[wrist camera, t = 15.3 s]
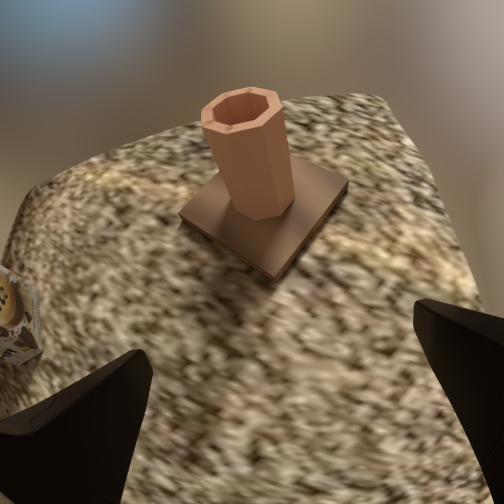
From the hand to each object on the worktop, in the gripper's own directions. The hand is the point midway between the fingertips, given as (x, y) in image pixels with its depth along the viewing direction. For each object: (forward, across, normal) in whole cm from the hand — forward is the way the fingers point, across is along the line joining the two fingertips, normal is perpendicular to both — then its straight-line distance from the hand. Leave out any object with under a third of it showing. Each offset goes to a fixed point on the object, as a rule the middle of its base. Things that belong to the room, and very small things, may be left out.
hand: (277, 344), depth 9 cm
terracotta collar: (+20, 0, -3) cm, 20 cm away
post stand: (+21, 0, -2) cm, 21 cm away
